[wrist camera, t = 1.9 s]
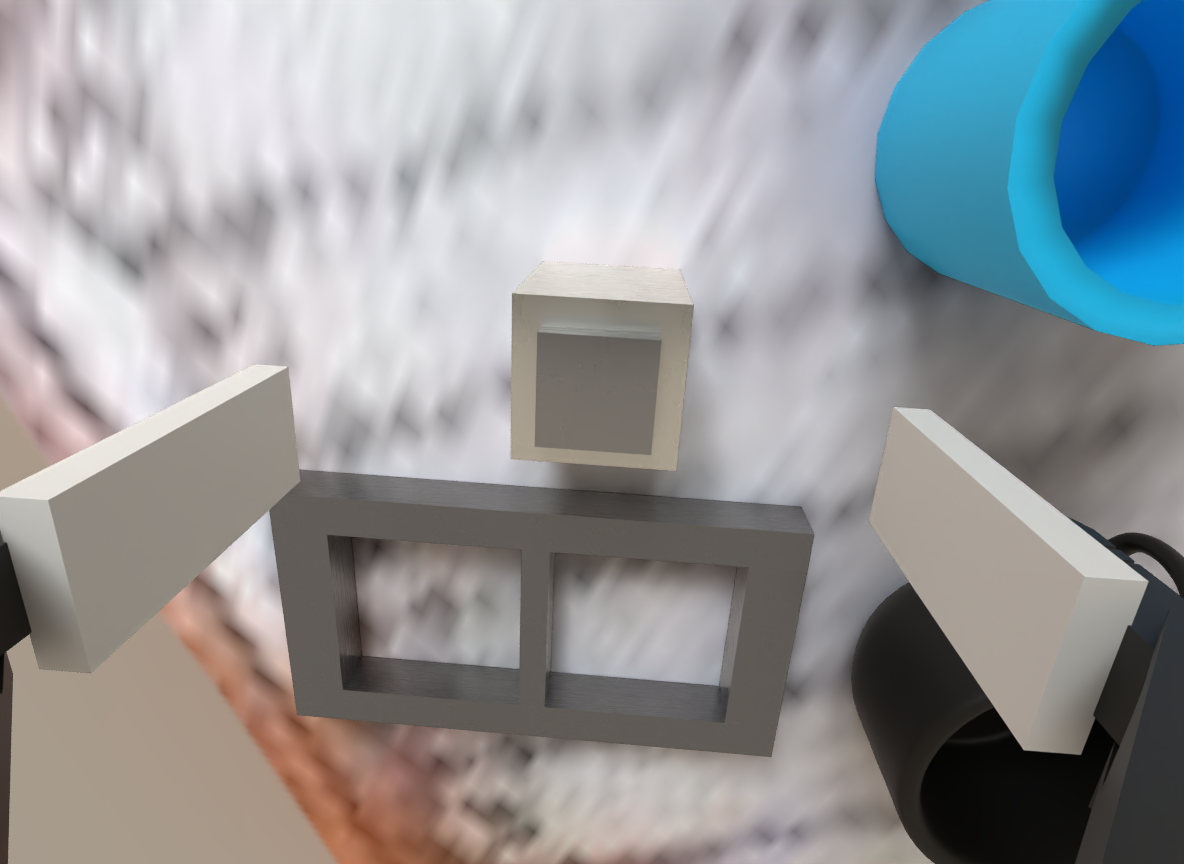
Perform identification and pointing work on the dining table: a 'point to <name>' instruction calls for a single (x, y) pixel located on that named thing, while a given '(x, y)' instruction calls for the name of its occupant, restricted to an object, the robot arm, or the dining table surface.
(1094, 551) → the robot arm
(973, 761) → the mug
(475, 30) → the dining table surface
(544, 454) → the beige square peg
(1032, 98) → the mug
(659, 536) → the grey window frame
